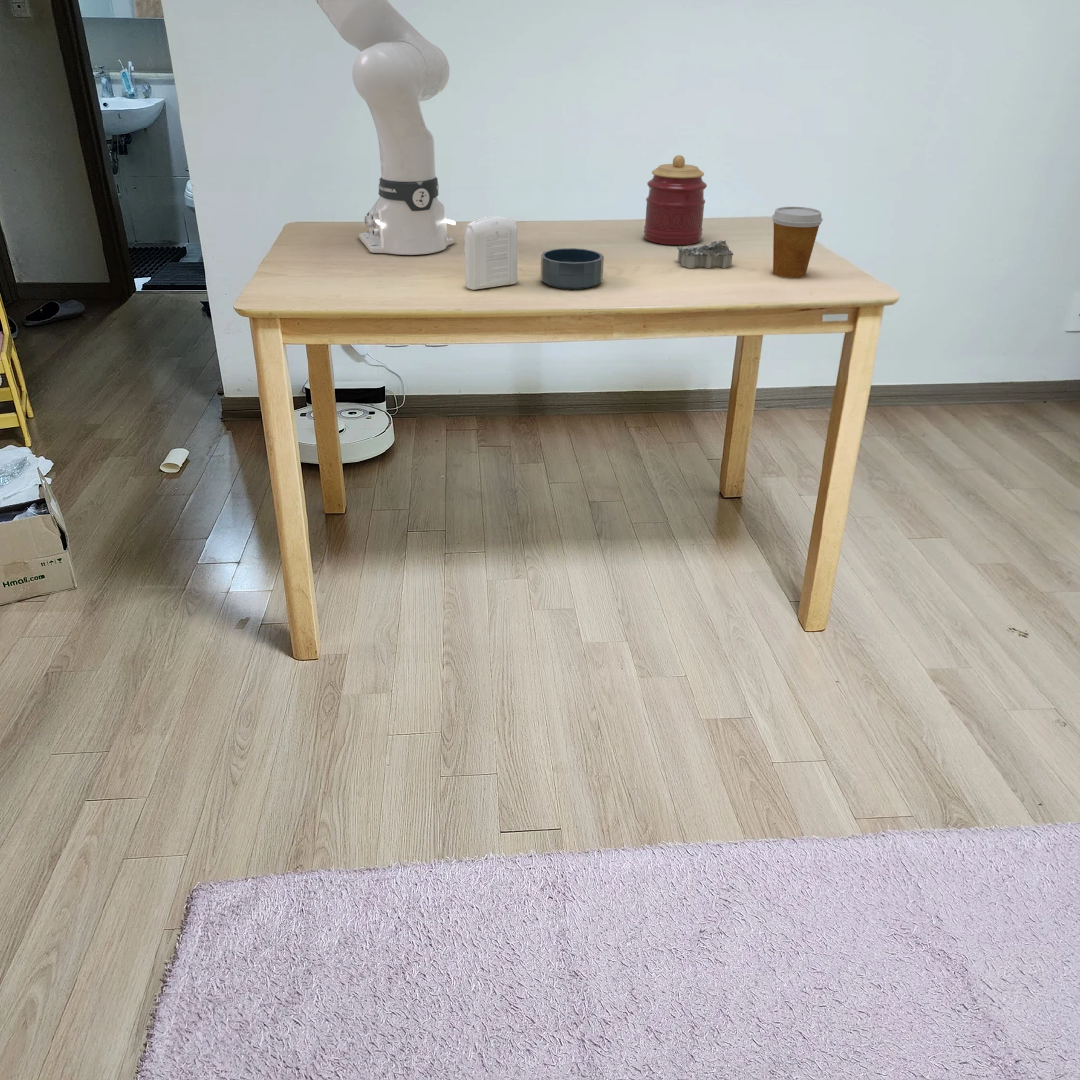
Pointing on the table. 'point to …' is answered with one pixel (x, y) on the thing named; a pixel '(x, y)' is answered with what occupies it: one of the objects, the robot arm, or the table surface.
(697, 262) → the grey packaging insert
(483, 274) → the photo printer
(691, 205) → the kitchen canister
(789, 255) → the disposable coffee cup
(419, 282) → the table surface
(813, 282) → the table surface
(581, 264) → the bowl
